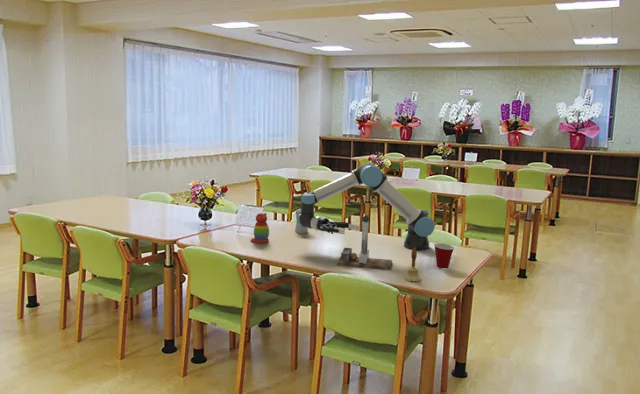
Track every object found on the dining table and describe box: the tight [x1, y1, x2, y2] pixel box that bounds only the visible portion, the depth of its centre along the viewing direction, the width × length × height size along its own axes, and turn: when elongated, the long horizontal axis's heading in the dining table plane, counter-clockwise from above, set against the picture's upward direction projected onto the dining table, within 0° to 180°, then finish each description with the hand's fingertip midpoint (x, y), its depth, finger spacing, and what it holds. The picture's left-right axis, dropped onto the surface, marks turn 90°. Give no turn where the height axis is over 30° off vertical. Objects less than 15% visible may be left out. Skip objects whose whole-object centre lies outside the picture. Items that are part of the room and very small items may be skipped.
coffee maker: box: [294, 205, 309, 235], centre depth 357 cm, size 15×9×18 cm, turn 23°
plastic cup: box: [433, 242, 456, 269], centre depth 287 cm, size 11×11×12 cm
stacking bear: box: [250, 212, 270, 245], centre depth 330 cm, size 11×10×18 cm
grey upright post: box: [358, 214, 370, 264], centre depth 288 cm, size 4×11×25 cm, turn 168°
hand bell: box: [403, 248, 422, 283], centre depth 264 cm, size 8×8×16 cm
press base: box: [336, 247, 393, 271], centre depth 290 cm, size 28×14×6 cm, turn 78°
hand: (351, 229), depth 293 cm, fingers open, 13 cm apart
